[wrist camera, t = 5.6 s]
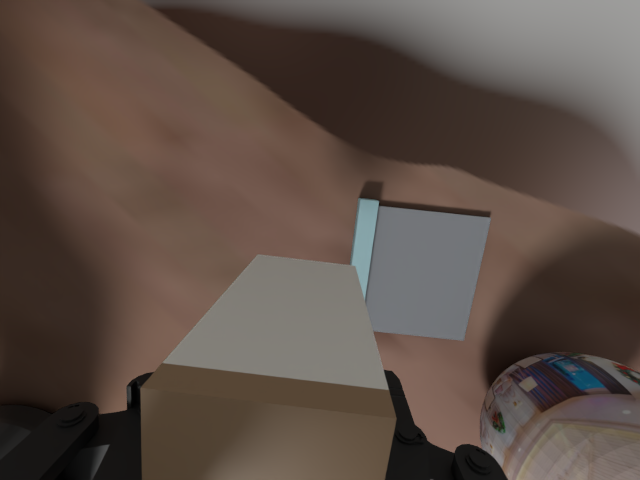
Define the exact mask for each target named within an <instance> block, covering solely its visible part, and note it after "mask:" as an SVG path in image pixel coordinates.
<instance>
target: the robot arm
mask: <svg viewBox="0 0 640 480" xmlns="http://www.w3.org/2000/svg"><path fill="white" fill-rule="evenodd" d="M153 373H154V372H151V373H146V374H143V375H141V376H138V377H137V378H135V379H133V380H132V381H131V382H130V383H129V384H128V385H127V410H125V411H120V412H114V413H107V414H99V409H98V407H97V406H96V405H95V404H93V403H90V402H79V403H75V404H71V405H68V406H66V407H63V408H61V409H59V410H57V411H56V412H55V413H53V414H50V413H48V412H46V411H43V410H40V409H37V408H33V407H29V406H22V405H3V406H0V480H142V455H141V393H140V388H141V387H142V385H143V384H144V383H145V382H146V381H147V380H148V379H149V378H150V376H151V375H152V374H153ZM384 374H385V377H386V381H387V385H388V388H389V392H390V396H391V399H392V403H393V407H394V411H395V414H396V418H397V420H396V425H395V430H394V435H393V440H392V445H391V450H390V456H389V461H388V466H387V471H386V476H385V480H508V478H507V477H506V475H505V473H504V471H503V470H502V468H501V466H500V465H499V463H498V462H497V461H496V460H495V458H494V457H493V456H491V455H490V454H489V453H488V452H487V451H485V450H483V449H481V448H479V447H477V446H474V445H470V444H463V445H460V446H458V447H457V448H456V450H455V453H452V452H450V451H447V450H445V449H442V448H439V447H437V446H435V445H433V444H431V443H430V442H428V441H427V438H426V436H425V434H424V433H423V432H422V430H421V429H419V428H418V427H417V426H416V425H415V424H414V421H413V418H412V415H411V412H410V409H409V406H408V403H407V400H406V398H405V394H404V391H403V390H402V389H403V388H402V385H401V382H400V380H399V378H398V377H397V376H396V375H395V374H394V373H393V372H392V371H387V370H384Z"/></svg>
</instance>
